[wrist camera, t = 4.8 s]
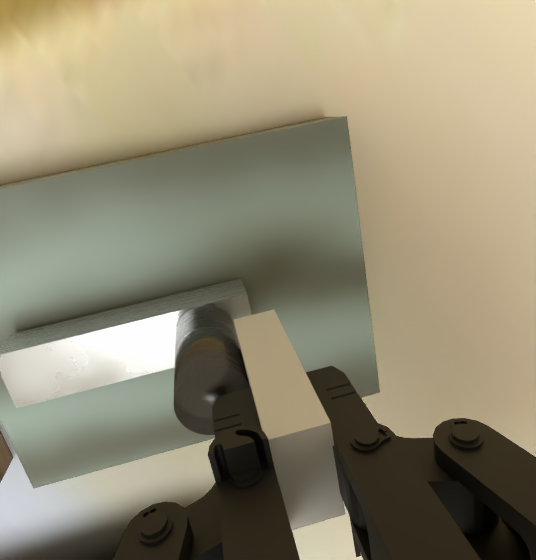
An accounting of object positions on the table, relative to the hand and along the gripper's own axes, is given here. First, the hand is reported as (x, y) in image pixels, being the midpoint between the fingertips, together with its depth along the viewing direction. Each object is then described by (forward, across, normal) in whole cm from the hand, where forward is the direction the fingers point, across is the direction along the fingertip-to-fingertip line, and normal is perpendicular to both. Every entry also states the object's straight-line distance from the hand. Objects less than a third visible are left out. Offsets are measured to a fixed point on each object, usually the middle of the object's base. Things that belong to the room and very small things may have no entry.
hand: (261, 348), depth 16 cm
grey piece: (+5, +5, 0) cm, 7 cm away
